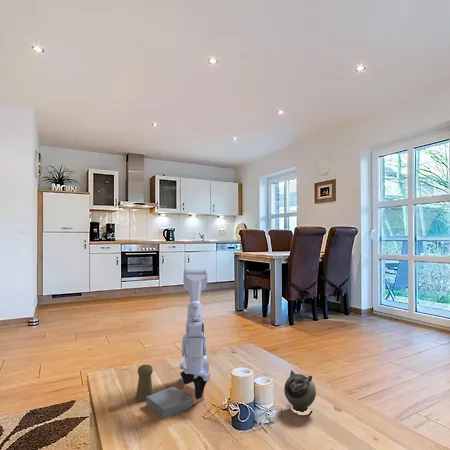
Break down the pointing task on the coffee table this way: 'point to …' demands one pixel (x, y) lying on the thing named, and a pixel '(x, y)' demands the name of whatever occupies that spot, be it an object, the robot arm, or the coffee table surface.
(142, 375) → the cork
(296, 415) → the coffee table surface
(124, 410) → the coffee table surface
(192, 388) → the tan cube
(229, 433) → the coffee table surface
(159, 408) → the plate
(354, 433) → the coffee table surface
